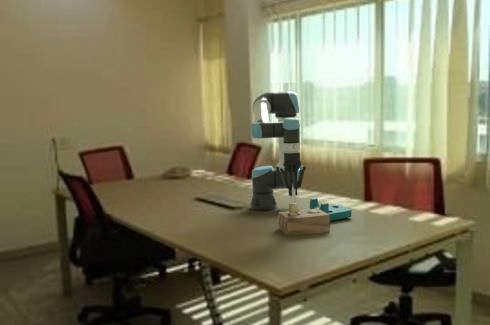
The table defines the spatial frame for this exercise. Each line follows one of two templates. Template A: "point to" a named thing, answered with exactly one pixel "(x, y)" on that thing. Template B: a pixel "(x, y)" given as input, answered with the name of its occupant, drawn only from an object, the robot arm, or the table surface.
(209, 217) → the table surface
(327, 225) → the socket block
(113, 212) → the table surface
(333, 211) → the teal l-shaped bracket
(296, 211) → the near peg
